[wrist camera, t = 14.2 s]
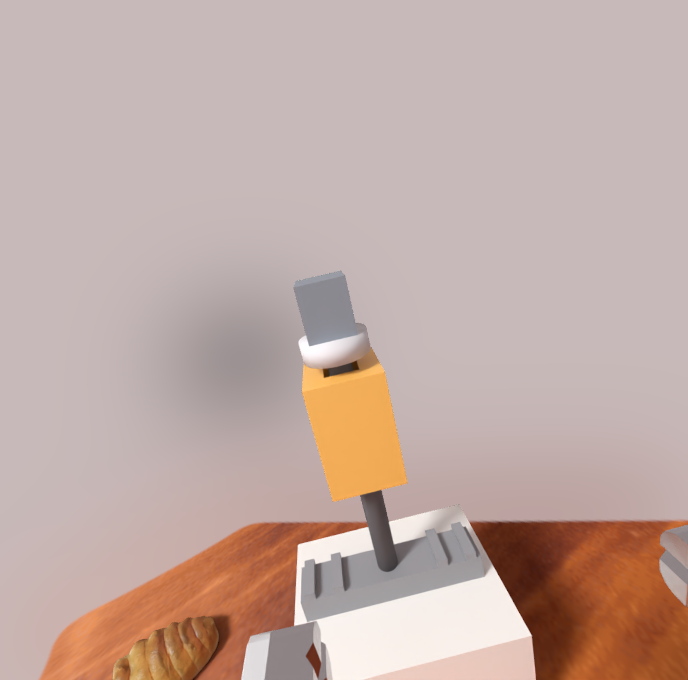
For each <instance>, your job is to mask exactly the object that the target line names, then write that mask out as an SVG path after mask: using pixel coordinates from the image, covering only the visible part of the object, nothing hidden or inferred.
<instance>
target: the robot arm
mask: <svg viewBox="0 0 688 680" xmlns="http://www.w3.org/2000/svg"><path fill="white" fill-rule="evenodd" d="M660 544H661V545H662V546H663V547H664V548H665V549H666V551H665V552H664V553H663V555H662V556H661V558H660V572H661V574H662V576H663V578H664V580H665V582H666V584H667V586H668V587H669V588H670V590H671V591H672V592H673V594H674V595H675V596H676V597H677V598H678V599H679V600H680V601H681V602H682V603H683V604H684V605H685V606H686V607H688V525H685V526H681V527H678V528H674V529H670V530H667V531H664V532H663V533H662V534H661V538H660ZM241 680H333V678H332V670H331V662H330V658H329V654H328V650H327V647H326V644H324V643H323V642H321V630H320V628H319V625H318V623H317V621H313V622H309V623H305V624H300V625H296V626H292V627H287V628H283V629H279V630H275V631H270V632H266V633H262V634H258V635H254V636H251V637H250V640H249V642H248V645H247V649H246V655H245V661H244V667H243V673H242V679H241Z"/></svg>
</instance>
